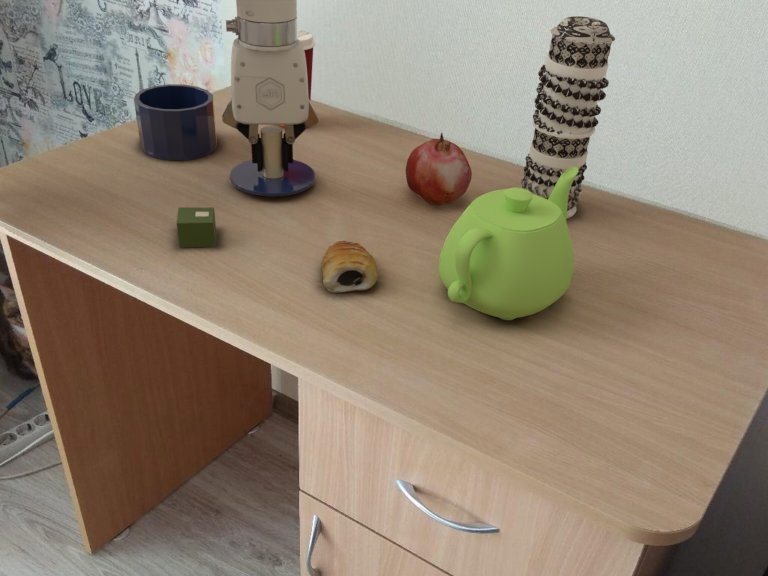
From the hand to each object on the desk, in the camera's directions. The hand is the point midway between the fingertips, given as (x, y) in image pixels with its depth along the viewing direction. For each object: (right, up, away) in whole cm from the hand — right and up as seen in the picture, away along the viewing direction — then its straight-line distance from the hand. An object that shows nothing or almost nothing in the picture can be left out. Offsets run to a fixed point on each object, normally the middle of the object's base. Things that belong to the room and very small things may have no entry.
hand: (272, 166), depth 111 cm
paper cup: (0, +13, +21) cm, 25 cm away
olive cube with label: (-8, -13, -12) cm, 19 cm away
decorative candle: (+39, -5, +2) cm, 40 cm away
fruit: (+23, -4, +2) cm, 24 cm away
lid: (0, -1, +1) cm, 2 cm away
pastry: (+12, -18, -17) cm, 27 cm away
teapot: (+31, -20, -17) cm, 40 cm away
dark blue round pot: (-16, +6, +10) cm, 20 cm away
